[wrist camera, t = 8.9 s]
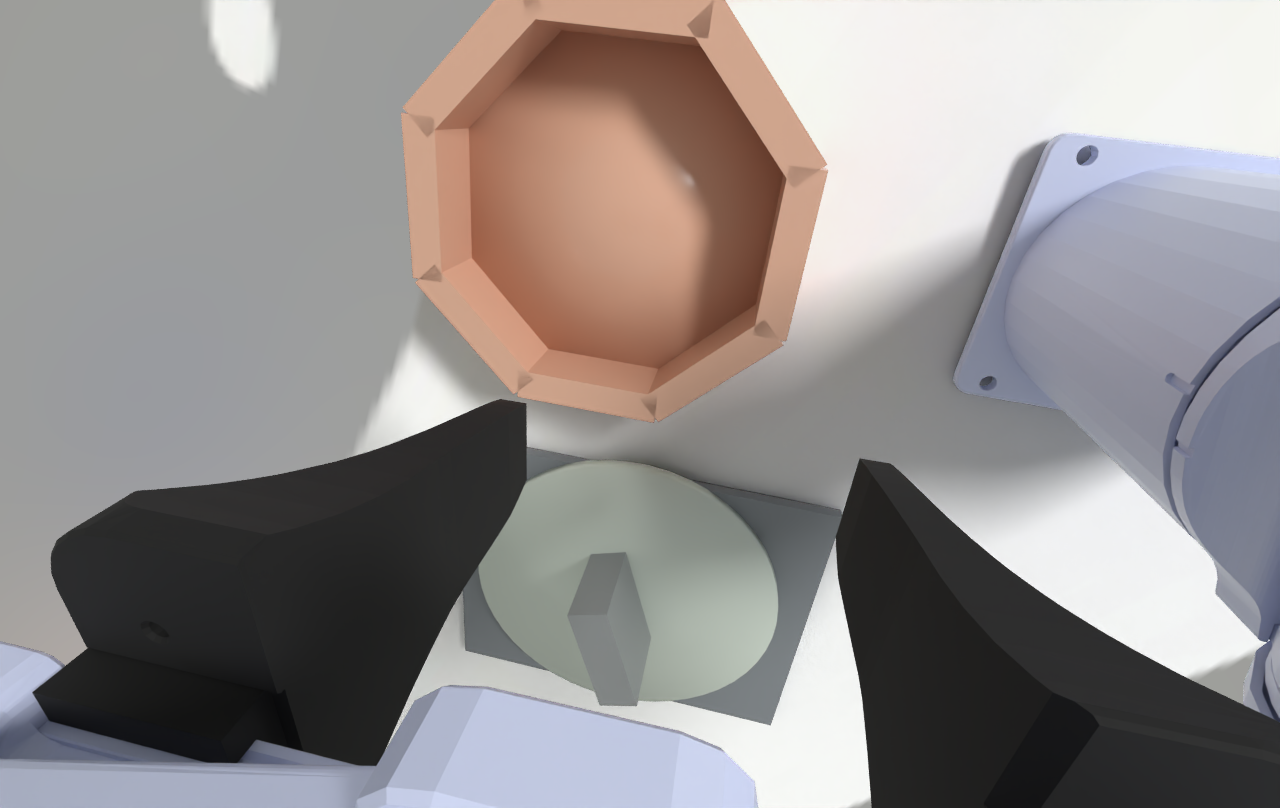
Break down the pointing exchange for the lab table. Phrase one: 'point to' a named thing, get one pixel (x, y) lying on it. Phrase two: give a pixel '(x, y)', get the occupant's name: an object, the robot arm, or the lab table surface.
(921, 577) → the robot arm
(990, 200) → the lab table surface
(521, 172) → the bowl
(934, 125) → the lab table surface
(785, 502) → the mat
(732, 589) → the lid
